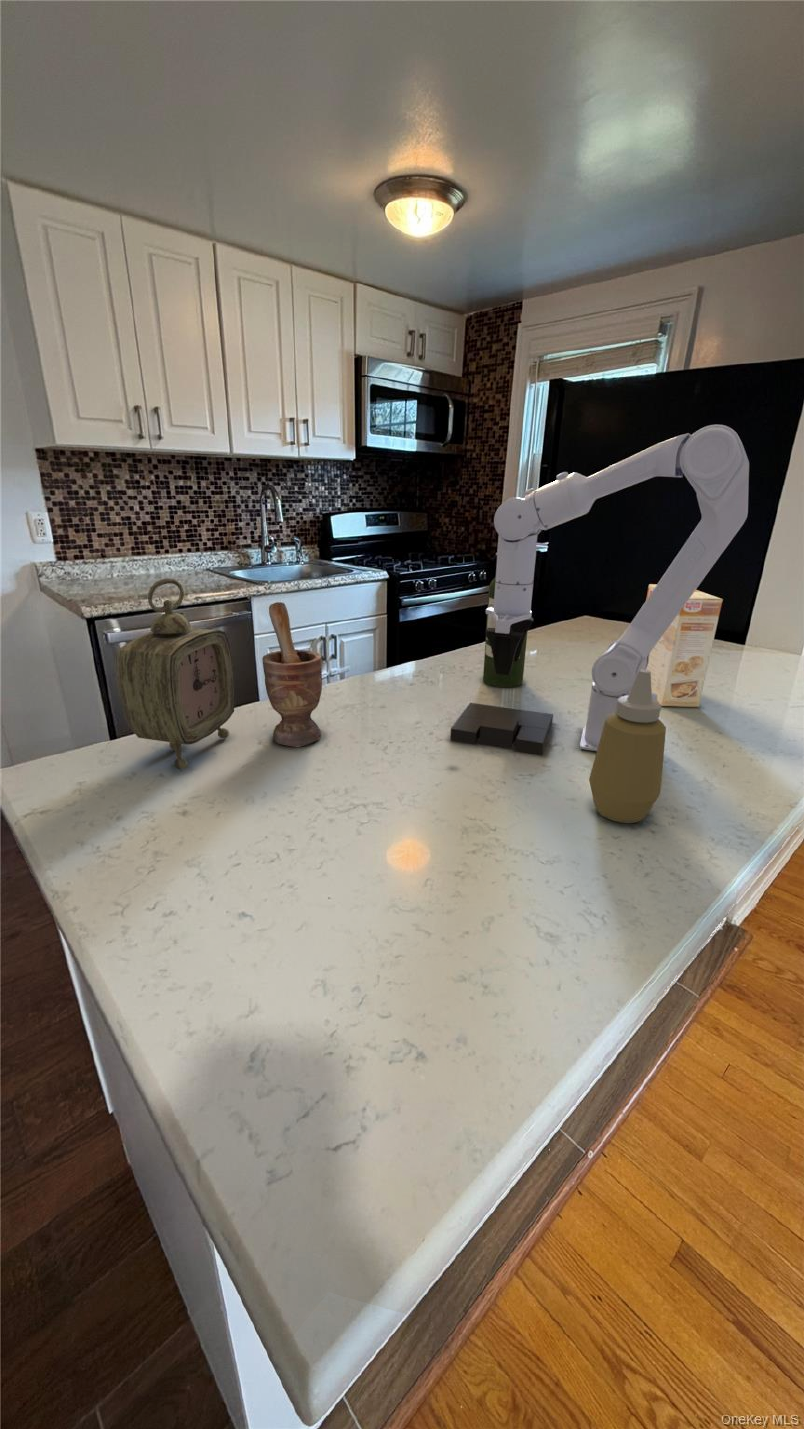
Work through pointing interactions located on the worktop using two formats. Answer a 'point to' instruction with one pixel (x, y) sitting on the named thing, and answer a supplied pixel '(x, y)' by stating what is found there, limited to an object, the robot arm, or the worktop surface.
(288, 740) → the mortar and pestle
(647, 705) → the squeeze bottle
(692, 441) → the robot arm
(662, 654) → the coffeecake box
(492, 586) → the wine bottle
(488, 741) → the small dark rectangular block
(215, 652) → the tabletop clock
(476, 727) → the base pad
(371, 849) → the worktop surface
